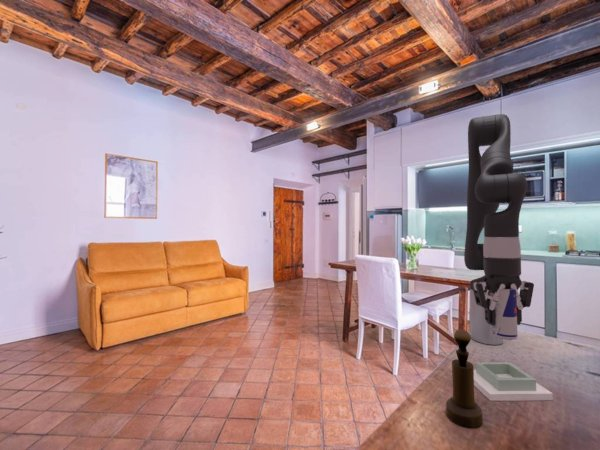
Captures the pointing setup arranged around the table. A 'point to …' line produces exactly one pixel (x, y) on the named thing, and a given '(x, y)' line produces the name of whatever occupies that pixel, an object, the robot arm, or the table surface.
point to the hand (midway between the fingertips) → (503, 323)
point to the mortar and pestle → (463, 387)
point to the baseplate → (507, 383)
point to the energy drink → (505, 315)
